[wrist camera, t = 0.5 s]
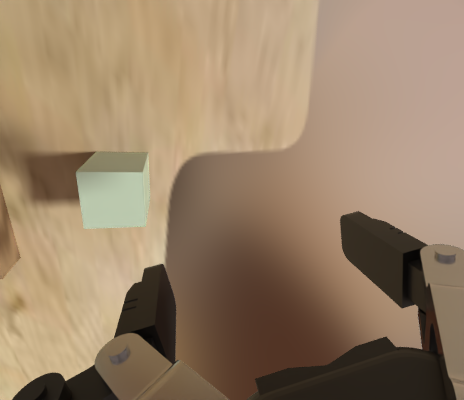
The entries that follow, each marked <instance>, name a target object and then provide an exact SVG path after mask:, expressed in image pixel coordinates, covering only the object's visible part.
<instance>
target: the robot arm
mask: <svg viewBox="0 0 464 400" xmlns="http://www.w3.org/2000/svg"><path fill="white" fill-rule="evenodd" d="M340 223H341V224H340V225H341V237H342V238H341V239H342V249H343V252H344V254H345V256H346V258H347V259H348V260H349V261H350V262H351V263H352V264H353V265H354V266H356V267H357V268H358V269H359V270H360V271H361V272H362V273H363V274H364V275H366V276H367V277H368V278H369V279H370V280H371V281H372V282H373V283H374V284H376V285H377V286H378V287H379V288H380V289H381V290H382V291H383V292H385V293H386V294H387V295H388V296H389V297H390V298H391V299H392V300H393V301H395V303H397V304H398V305H399V306H400V307H401V308H405V307H408V306H411V305H417V306H418V320H419V328H420V336H421V344H422V349H417V348H409V347H395V346H394V345H393V344H392V342H391V341H390V340H389V339H388V338H387V337H383V338H380V339H377V340H374V341H371V342H368V343H365V344H362V345H359V346H355V347H354V348H352V349H351V350H349V351H348V352H346V353H345V354H344V355H342V356H340V357H339V358H337V359H336V360H335V361H333V362H332V363H330V364H328V365H325V366H312V367H298V368H287V369H284V370H281V371H278V372H275V373H272V374H269V375H266V376H262V377H260V378H256V379H255V380H256V385H257V389H258V392H256V393H255V394H253V395H252V396H251V397H249V398H248V399H247V400H464V250H463V249H460V248H458V247H455V246H451V245H444V244H435V245H434V244H433V245H426V244H425V243H423V242H421V241H419V240H418V239H416V238H414V237H412V236H410V235H408V234H407V233H403V231H401V230H399V229H398V228H395V227H394V226H392V225H390V224H389V223H387V222H384V221H381V220H377V219H372V218H370V217H368V216H367V215H365V214H363V213H361V212H359V211H358V212H354V213H350V214H346V215H343V216H341V219H340ZM175 343H176V303H175V298H174V294H173V291H172V288H171V285H170V282H169V279H168V276H167V273H166V270H165V267H164V265H163V264H159V265H156V266H152V267H148V268H145V269H144V273H143V277H142V282H138V283H135V284H133V286H132V287H131V288H130V290H129V291H128V292H127V294H126V297H125V301H124V304H123V308H122V312H121V315H120V319H119V322H118V326H117V329H116V333H115V336H114V339H112V340H111V341H109V342H108V343H107V344H106V345H105V346H104V347H103V348H102V349H101V350H100V351H99V353H98V354H97V357H96V359H95V365H93V366H92V367H90V368H89V369H87V370H85V371H83V372H81V373H80V374H78V375H76V376H74V377H72V378H71V379H69V380H67V381H65V379H64V378H63V376H62V375H61V374H59V373H48V374H45V375H43V376H40V377H38V378H36V379H35V380H33V381H31V382H30V383H29V384H27V385H26V386H25V387H24V388H22V389H21V390H20V391H19V392H18V393H17V394H16V396H15V397H14V398H13V399H12V400H229V399H228V398H227V397H225V396H224V395H223V394H222V393H220V392H219V391H218V390H217V389H216V388H214V387H213V386H212V385H211V384H209V383H208V382H207V381H206V380H204V379H203V378H202V377H201V376H200V375H198V374H197V373H196V372H195V371H193V370H192V369H191V368H190V367H189V366H187V365H186V364H185V363H183V362H182V361H180V360H177V361H176V362H175V345H176V344H175Z"/></svg>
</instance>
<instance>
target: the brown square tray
mask: <svg viewBox="0 0 464 400" xmlns="http://www.w3.org/2000/svg"><path fill="white" fill-rule="evenodd" d="M20 258H21V257H20V254H19V250H18V247H17V243H16V239H15V236H14V232H13V229H12V225H11V221H10V218H9V214H8V211H7V207H6V204H5V200H4V196H3V193H2V189H1V186H0V279H3V278H4V277H5V275H6V274H7V273H8V272H9V271H10V269H11V268H12V267H13V266H14V265H15V263H16V262H17V261H18V260H19V259H20Z"/></svg>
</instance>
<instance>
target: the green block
mask: <svg viewBox="0 0 464 400" xmlns="http://www.w3.org/2000/svg"><path fill="white" fill-rule="evenodd" d="M76 178H77V185H78V192H79V198H80V205H81V212H82V219H83V225H84V229H93V228H122V227H146V221H147V215H148V208H149V201H150V183H149V161H148V153H141V152H95V153H94V154H93V155H92V156H91V157H90V158H89V159H88V160H87V161H86V162H85V163H84V164H83V165H82V166H81V167H80V168H79V169H78V170H77V171H76Z"/></svg>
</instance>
